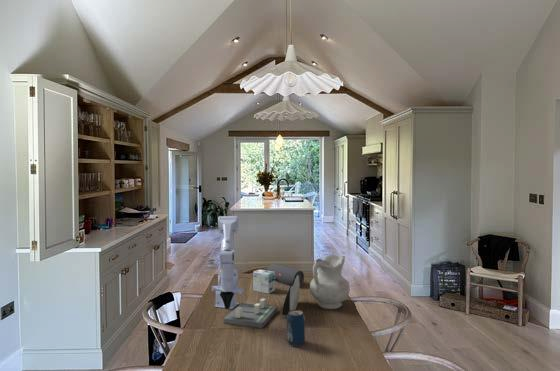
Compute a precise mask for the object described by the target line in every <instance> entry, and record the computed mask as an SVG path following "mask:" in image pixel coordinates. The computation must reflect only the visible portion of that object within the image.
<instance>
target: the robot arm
mask: <svg viewBox="0 0 560 371" xmlns="http://www.w3.org/2000/svg"><path fill="white" fill-rule="evenodd" d="M217 228H218V232H219V234H221V235H222V237H223V239H222V240H221V242H220V252H219V265H220V266H219V268H220V270H219V271H218V276H217V279H218V280H217V285H212V286H211V292H215V305H214V307H215V308H223V309H225V310H230V309H231V310H232V309H233V310H234V309H235V308H236V307H238V306H239V305H240V303H239V302H237V300H236V299H237V294H239V295H243V294H244V288H243V287H242V288H241V287H239V271H238V269H236V268H235V267H234V266H235V258H236V257H235V256H236V255H235V242H234V241H235V240H233V239H234V238H233V237H234V235H235V234H238V230H239V216H238V215H229V216H228V215H226V216H225V215H223V216H222V215H221V216H220V215H219V216H218V217H217Z"/></svg>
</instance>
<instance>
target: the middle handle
mask: <svg viewBox="0 0 560 371" xmlns="http://www.w3.org/2000/svg"><path fill="white" fill-rule="evenodd" d="M260 312H261V304H260V302H257V303H255V304H254V313H255V314H259V313H260Z"/></svg>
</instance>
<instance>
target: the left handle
mask: <svg viewBox="0 0 560 371" xmlns="http://www.w3.org/2000/svg"><path fill="white" fill-rule="evenodd" d="M266 301H267V300H266V298H264V297H262V298H260V299H259V304H261V308H264V307H265V306H267V302H266Z"/></svg>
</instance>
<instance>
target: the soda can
mask: <svg viewBox="0 0 560 371" xmlns="http://www.w3.org/2000/svg"><path fill="white" fill-rule="evenodd" d="M305 324H306V323H305V315H304V312H303V310H300V309H296V310H290V311H289V312H288V315H286V341H287V343H288V345H289V346H292V347H300V346H302V345H303V344H304V342H305V340H306V339H305V338H306V337H305V336H306V335H305V334H306V332H305V331H306V330H305V328H306V325H305Z"/></svg>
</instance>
